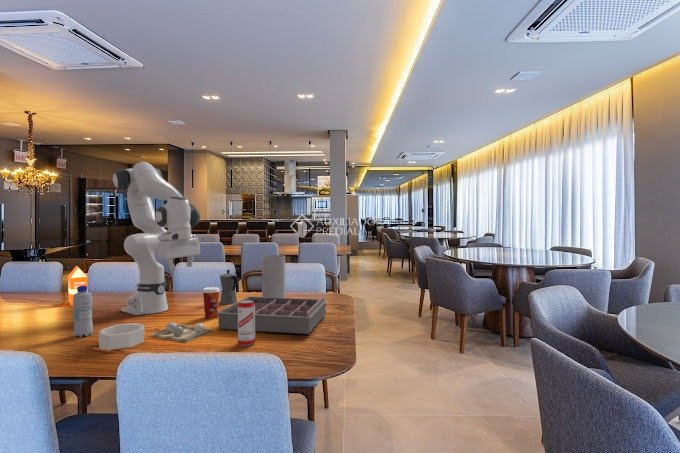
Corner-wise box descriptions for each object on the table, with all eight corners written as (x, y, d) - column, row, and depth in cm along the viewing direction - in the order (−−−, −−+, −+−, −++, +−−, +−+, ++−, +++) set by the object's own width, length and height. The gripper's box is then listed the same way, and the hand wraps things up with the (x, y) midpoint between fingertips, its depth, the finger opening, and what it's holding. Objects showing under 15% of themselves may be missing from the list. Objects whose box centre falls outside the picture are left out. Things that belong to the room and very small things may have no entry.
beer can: (239, 341, 142) (239, 299, 142) (256, 340, 143) (256, 299, 142) (236, 347, 136) (236, 303, 136) (254, 346, 137) (253, 303, 136)
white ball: (191, 334, 149) (191, 324, 149) (199, 331, 153) (199, 321, 153) (199, 335, 148) (199, 325, 147) (207, 332, 151) (206, 322, 151)
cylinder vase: (274, 304, 201) (274, 258, 200) (257, 301, 207) (257, 256, 207) (289, 300, 211) (289, 255, 210) (273, 297, 218) (273, 254, 217)
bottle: (78, 339, 144) (76, 287, 144) (69, 336, 148) (68, 286, 147) (96, 334, 150) (95, 284, 150) (88, 331, 154) (87, 283, 153)
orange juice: (85, 300, 210) (84, 265, 209) (88, 303, 203) (87, 266, 203) (68, 302, 205) (67, 266, 204) (70, 305, 198) (69, 268, 198)
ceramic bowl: (91, 347, 136) (90, 332, 136) (126, 335, 149) (125, 322, 149) (118, 352, 131) (118, 337, 130) (152, 340, 144) (151, 325, 143)
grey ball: (170, 337, 145) (170, 327, 145) (178, 334, 149) (178, 324, 149) (178, 338, 144) (178, 328, 144) (186, 335, 148) (186, 325, 147)
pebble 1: (164, 333, 151) (163, 323, 150) (171, 330, 154) (171, 320, 154) (171, 334, 149) (171, 324, 149) (179, 331, 153) (179, 321, 153)
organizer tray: (248, 312, 185) (248, 292, 185) (327, 316, 178) (327, 295, 178) (215, 332, 154) (215, 308, 154) (310, 338, 147) (310, 312, 146)
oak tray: (150, 337, 146) (150, 333, 146) (178, 327, 159) (178, 324, 159) (186, 343, 140) (186, 339, 140) (212, 332, 153) (212, 328, 153)
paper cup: (214, 321, 170) (214, 290, 169) (199, 320, 171) (199, 289, 171) (223, 316, 177) (223, 286, 177) (208, 315, 179) (208, 286, 178)
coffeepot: (214, 301, 207) (214, 269, 206) (230, 299, 213) (230, 267, 213) (228, 306, 196) (227, 272, 195) (244, 303, 202) (244, 270, 202)
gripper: (192, 234, 168) (193, 264, 169) (154, 236, 149) (155, 271, 150) (203, 233, 166) (204, 265, 166) (166, 236, 147) (167, 271, 147)
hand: (181, 268), depth 158 cm, fingers open, 8 cm apart
